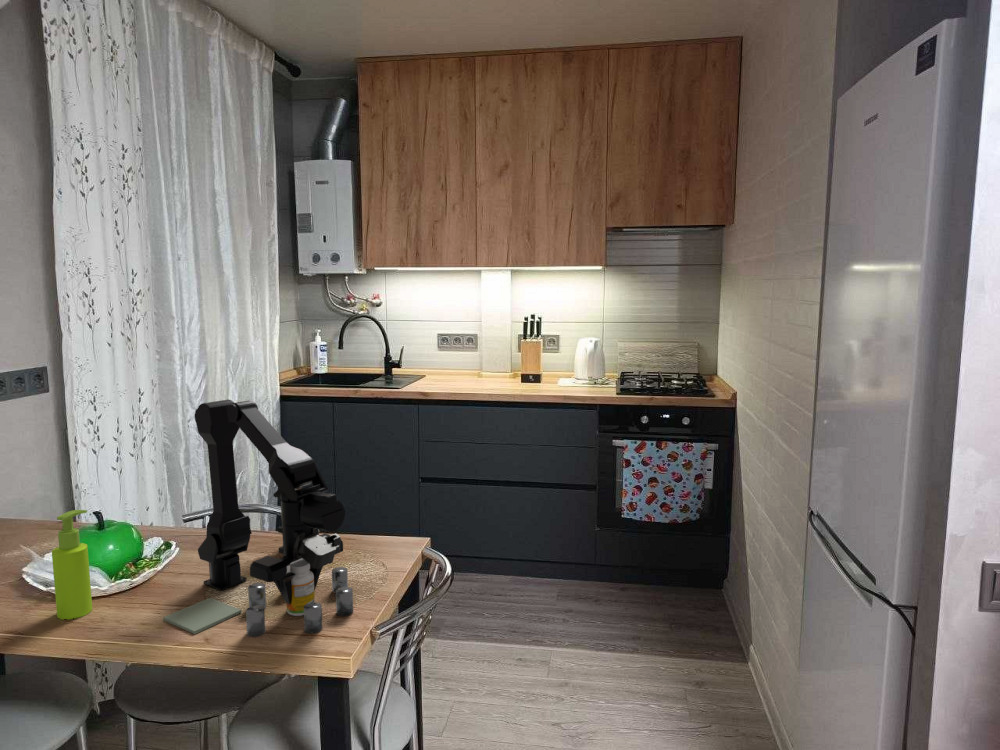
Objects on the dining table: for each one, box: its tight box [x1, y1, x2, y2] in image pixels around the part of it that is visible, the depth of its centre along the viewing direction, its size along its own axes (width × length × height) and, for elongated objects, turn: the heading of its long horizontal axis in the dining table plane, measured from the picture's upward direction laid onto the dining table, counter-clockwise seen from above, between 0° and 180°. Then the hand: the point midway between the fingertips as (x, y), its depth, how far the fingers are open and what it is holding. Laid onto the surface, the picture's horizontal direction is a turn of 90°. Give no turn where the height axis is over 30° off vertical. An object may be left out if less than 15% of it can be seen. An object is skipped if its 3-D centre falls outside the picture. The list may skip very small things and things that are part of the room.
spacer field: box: [245, 566, 354, 638], centre depth 133 cm, size 19×24×4 cm
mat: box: [162, 597, 242, 635], centre depth 131 cm, size 10×10×1 cm
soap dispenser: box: [51, 509, 93, 620], centre depth 132 cm, size 6×7×20 cm
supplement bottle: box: [285, 559, 316, 617], centre depth 133 cm, size 5×5×10 cm
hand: (300, 598), depth 133 cm, fingers closed on supplement bottle, 5 cm apart
